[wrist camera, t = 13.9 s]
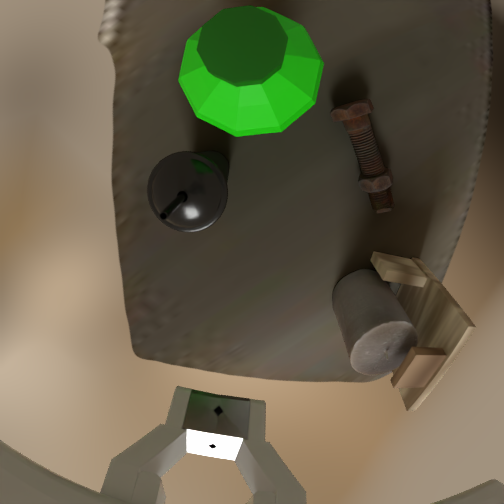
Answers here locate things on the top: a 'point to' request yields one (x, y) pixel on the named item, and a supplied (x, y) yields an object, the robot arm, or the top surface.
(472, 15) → the top surface
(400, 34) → the top surface
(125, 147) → the top surface
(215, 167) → the drinking cup
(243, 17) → the plastic bottle
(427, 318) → the cradle
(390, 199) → the bolt
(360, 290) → the pillar candle
